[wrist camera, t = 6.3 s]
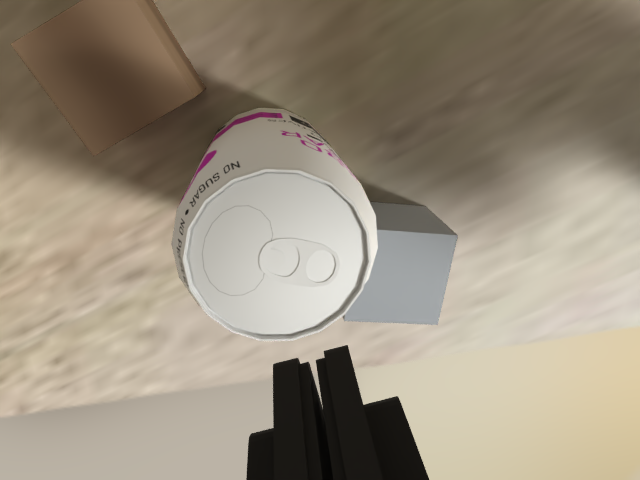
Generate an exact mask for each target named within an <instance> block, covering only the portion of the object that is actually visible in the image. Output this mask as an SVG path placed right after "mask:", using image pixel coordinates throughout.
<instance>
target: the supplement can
mask: <svg viewBox="0 0 640 480" xmlns="http://www.w3.org/2000/svg"><path fill="white" fill-rule="evenodd" d="M172 249H173V253H174V257H175V261H176V266H177V270H178V274H179V278H180V279H181V281H182V282H183V284H184V285H185V286H186V288H187V289H188V291H189V292H190V294H191V295H192V297H193V298H194V300H195V301H196V302H197V304H198V305H199V306H200V307H202V308H203V310H204V311H205V313H206V314H207V315H208V316H209V317H211V318H212V319H214V320H215V321H216V322H218V323H219V324H221V325H222V326H223V327H225V328H226V329H228V330H229V331H230V332H232V333H236V334H239V335H242V336H245V337H249V338H252V339H255V340H259V341H293V340H296V339H299V338H302V337H305V336H308V335H311V334H315V333H318V332H321V331H322V330H324V329H325V328H326V327H328V326H329V325H331V324H332V323H333V322H335V321H336V320H338V319H339V318H341V317H342V316H343V315H345V314H346V312H347V311H348V310H349V308H350V307H351V306H352V304H353V303H354V302H355V300H356V299H357V297H358V296H359V295H360V293H361V292H362V291H363V288H364V285H365V283H366V282H367V280H368V279H369V276H370V273H371V269H372V266H373V263H374V259H375V256H376V253H377V249H378V241H377V227H376V215H375V213H374V210H373V208H372V206H371V204H370V202H369V200H368V198H367V196H366V194H365V191H364V189H363V187H362V185H361V183H360V182H359V181H358V180H357V178H356V177H355V176H354V175H353V173H352V172H351V171H350V170H349V168H348V167H347V166H346V165H345V163H344V162H343V161H342V160H341V158H340V157H339V156H338V155H337V153H336V152H335V151H334V150H333V148H332V147H331V146H330V145H329V143H328V142H327V141H326V140H325V138H324V137H323V136H322V135H321V134H320V133H319V132H318V131H317V130H316V129H315V128H314V127H313V126H312V125H311V124H310V123H309V122H308V121H307V120H306V119H305V118H303V117H300V116H298V115H296V114H294V113H291V112H289V111H287V110H284V109H276V108H257V109H253V110H250V111H247V112H244V113H241V114H238V115H236V116H235V117H233V118H232V119H231V120H230V121H228V122H227V123H226V124H225V125H223V126H222V127H221V128H219V129H218V131H217V133H216V134H215V136H214V138H213V140H212V141H211V143H210V145H209V146H208V148H207V150H206V152H205V154H204V156H203V158H202V160H201V162H200V164H199V166H198V168H197V170H196V172H195V174H194V176H193V178H192V180H191V182H190V184H189V186H188V188H187V190H186V192H185V194H184V196H183V198H182V200H181V202H180V204H179V206H178V208H177V212H176V218H175V225H174V231H173V238H172Z"/></svg>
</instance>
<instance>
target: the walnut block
mask: <svg viewBox="0 0 640 480" xmlns="http://www.w3.org/2000/svg"><path fill="white" fill-rule="evenodd" d="M11 46H12V47H13V48H14V50H15V51H16V52H17V54H18V55H19V56H20V58H21V59H22V60H23V62H24V63H25V64H26V66H27V67H28V69H29V70H30V71H31V73H32V74H33V75H34V77H35V78H36V79H37V81H38V82H39V83H40V85H41V86H42V87H43V89H44V90H45V92H46V93H47V94H48V96H49V97H50V98H51V100H52V101H53V102H54V104H55V105H56V106H57V108H58V109H59V110H60V112H61V113H62V114H63V116H64V117H65V119H66V120H67V121H68V123H69V124H70V125H71V127H72V128H73V129H74V131H75V132H76V133H77V135H78V136H79V137H80V139H81V140H82V142H83V143H84V144H85V146H86V147H87V148H88V150H89V151H90V152H91V154H92V155H93V156H95V155H97V154H99V153H100V152H102V151H104V150H105V149H107V148H109V147H111V146H112V145H114V144H116V143H117V142H119V141H121V140H123V139H124V138H126V137H128V136H129V135H131V134H133V133H134V132H136V131H138V130H140V129H141V128H143V127H145V126H146V125H148V124H150V123H152V122H153V121H155V120H157V119H158V118H160V117H162V116H164V115H165V114H167V113H169V112H170V111H172V110H174V109H175V108H177V107H179V106H181V105H182V104H184V103H186V102H187V101H189V100H191V99H193V98H194V97H196V96H197V95H198V94H200V93H201V92H202V91H204V90H205V89H206V88H205V86H204V85H203V83H202V81H201V80H200V78H199V76H198V75H197V73H196V71H195V70H194V68H193V66H192V65H191V63H190V62H189V60H188V58H187V57H186V55H185V53H184V52H183V50H182V48H181V47H180V45H179V43H178V42H177V40H176V38H175V37H174V35H173V34H172V32H171V30H170V29H169V27H168V25H167V24H166V22H165V20H164V19H163V17H162V15H161V14H160V12H159V10H158V9H157V7H156V6H155V4H154V2H153V1H152V0H82V1H80V2H78V3H77V4H75V5H73V6H72V7H70V8H68V9H67V10H65V11H64V12H62V13H60V14H59V15H57V16H55V17H54V18H52V19H51V20H49V21H47V22H46V23H44V24H42V25H41V26H39V27H37V28H36V29H34V30H33V31H31V32H29V33H28V34H26V35H24V36H23V37H21V38H19V39H18V40H16V41H15V42H13V43H11Z"/></svg>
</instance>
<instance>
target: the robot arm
mask: <svg viewBox="0 0 640 480" xmlns="http://www.w3.org/2000/svg"><path fill="white" fill-rule="evenodd" d="M324 356H325V358H322V359H318V360H316V365H317V371H318V378H319V385H320V392H321V399H322V405H323V408H322V405H321V402H320V398H319V395H318V391H317V388H316V385H315V381H314V378H313V374H312V371H311V367H310V364H309V362H306V363H302V364H300V362H299V359H298V358H295V359H291V360H287V361H283V362H279V363H275V364H274V365H273V403H274V404H273V407H274V410H273V412H274V413H273V414H274V428H272V429H268V430H264V431H260V432H256V433H252V434H251V435H250V437H249V445H248V463H247V480H429V478H428V475H427V473H426V470H425V467H424V464H423V462H422V459H421V456H420V454H419V451H418V449H417V446H416V443H415V440H414V437H413V435H412V432H411V429H410V427H409V424H408V421H407V419H406V416H405V413H404V411H403V408H402V405H401V403H400V400H399V398H398V397H397V396H396V397H392V398H389V399H385V400H381V401H377V402H373V403H369V404H366V405H363V402H362V399H361V395H360V391H359V387H358V383H357V379H356V376H355V372H354V368H353V364H352V360H351V357H350V353H349V349H348V345H346V346H342V347H338V348H334V349H330V350H326V351H324Z"/></svg>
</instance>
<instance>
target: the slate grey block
mask: <svg viewBox="0 0 640 480" xmlns="http://www.w3.org/2000/svg"><path fill="white" fill-rule="evenodd" d="M370 204H371V206H372V208H373V210H374V213H375V215H376V227H377V241H378V249H377V253H376V256H375V259H374V263H373V266H372V269H371V273H370V276H369V279H368V280H367V282H366V283H365V285H364V288H363V291H362V292H361V293H360V295H359V296H358V297H357V299H356V300H355V302H354V303H353V304H352V306H351V307H350V308H349V310H348V311H347V312H346V314H345V315H343V319H344V321H359V322H382V323H406V324H430V325H438V321H439V316H440V312H441V307H442V303H443V299H444V294H445V290H446V285H447V281H448V276H449V272H450V268H451V263H452V259H453V254H454V250H455V245H456V241H457V237H458V235H457V234H456V233H454V232H453V231H452V230H451V229H450V228H449V227H448V226H447V225H446V224H445V223H443V222H442V221H441V220H440V219H439V218H438V217H437V216H436V215H435V214H434V213H432V212H431V211H430V210H429V209H428V208H427V207H426V206H417V205H405V204H392V203H380V202H370Z"/></svg>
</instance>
